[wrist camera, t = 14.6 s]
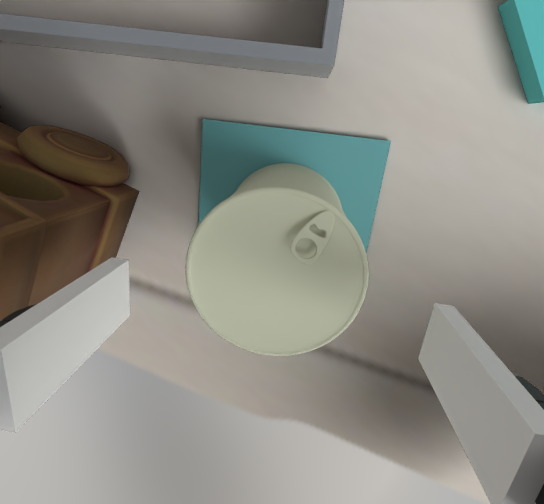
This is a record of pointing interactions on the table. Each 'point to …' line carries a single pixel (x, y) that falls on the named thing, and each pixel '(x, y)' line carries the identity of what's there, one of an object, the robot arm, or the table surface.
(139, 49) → the crate
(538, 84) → the alien figure
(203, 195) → the mat
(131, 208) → the wooden toy train
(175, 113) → the table surface
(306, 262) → the can
